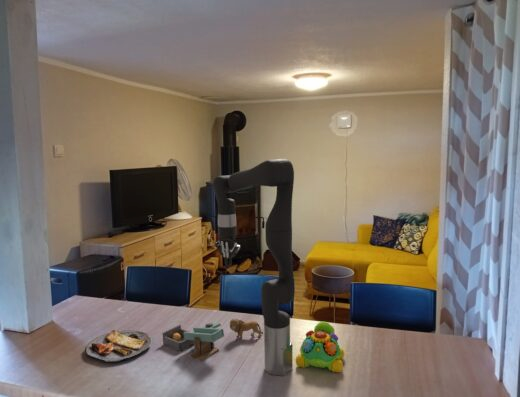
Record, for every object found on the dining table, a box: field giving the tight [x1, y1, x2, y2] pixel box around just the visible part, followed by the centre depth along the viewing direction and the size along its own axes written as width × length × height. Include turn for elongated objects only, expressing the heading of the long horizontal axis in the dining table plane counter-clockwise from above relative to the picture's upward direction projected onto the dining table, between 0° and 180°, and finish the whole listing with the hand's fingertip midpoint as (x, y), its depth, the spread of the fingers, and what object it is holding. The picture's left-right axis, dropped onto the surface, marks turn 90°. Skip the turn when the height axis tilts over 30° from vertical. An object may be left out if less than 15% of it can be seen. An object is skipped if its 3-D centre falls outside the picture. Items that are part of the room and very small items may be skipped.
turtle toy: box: [295, 321, 345, 373], centre depth 154 cm, size 17×23×12 cm
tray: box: [162, 324, 194, 352], centre depth 168 cm, size 10×9×5 cm
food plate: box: [84, 329, 153, 362], centre depth 165 cm, size 25×23×4 cm
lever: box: [184, 322, 225, 343], centre depth 163 cm, size 16×16×3 cm
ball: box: [173, 333, 180, 341], centre depth 169 cm, size 3×3×3 cm
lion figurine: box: [229, 318, 264, 341], centre depth 172 cm, size 15×5×9 cm, turn 110°
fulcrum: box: [189, 337, 220, 362], centre depth 159 cm, size 6×10×8 cm, turn 142°
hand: (228, 265), depth 169 cm, fingers closed
